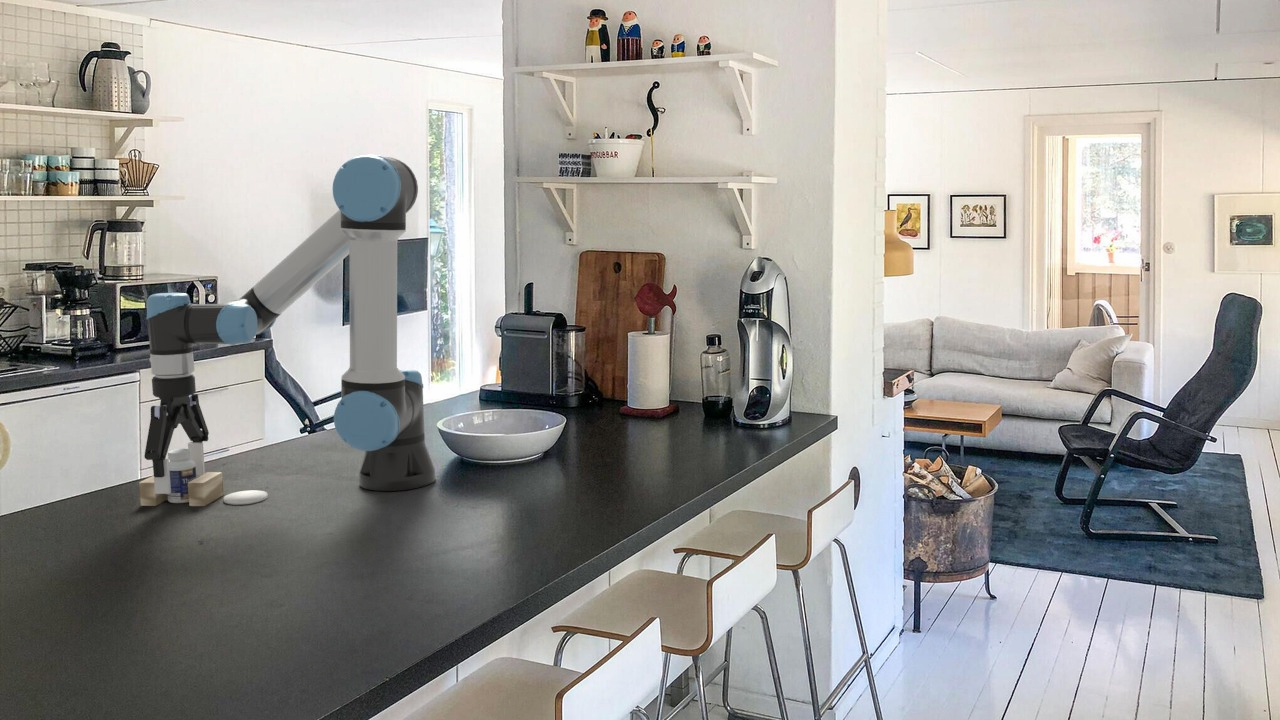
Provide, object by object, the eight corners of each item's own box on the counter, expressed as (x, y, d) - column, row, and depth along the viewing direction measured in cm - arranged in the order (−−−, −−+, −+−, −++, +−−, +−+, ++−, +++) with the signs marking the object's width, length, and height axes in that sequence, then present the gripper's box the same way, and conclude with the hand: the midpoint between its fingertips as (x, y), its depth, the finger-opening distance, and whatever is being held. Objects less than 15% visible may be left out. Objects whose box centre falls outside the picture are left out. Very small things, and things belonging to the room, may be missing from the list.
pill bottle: (187, 504, 204) (183, 454, 203) (161, 503, 205) (157, 453, 204) (203, 496, 209) (200, 448, 208) (179, 495, 210) (175, 447, 209)
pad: (274, 493, 211) (274, 490, 211) (257, 504, 203) (257, 501, 203) (234, 493, 212) (234, 490, 212) (216, 504, 204) (216, 501, 204)
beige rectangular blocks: (223, 494, 211) (222, 472, 210) (204, 506, 203) (203, 482, 202) (162, 494, 212) (160, 472, 211) (140, 505, 204) (138, 482, 203)
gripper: (185, 364, 216) (193, 467, 219) (118, 386, 192) (127, 501, 195) (222, 364, 216) (228, 467, 219) (158, 386, 191) (167, 501, 194)
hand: (180, 483), depth 207 cm, fingers open, 13 cm apart
